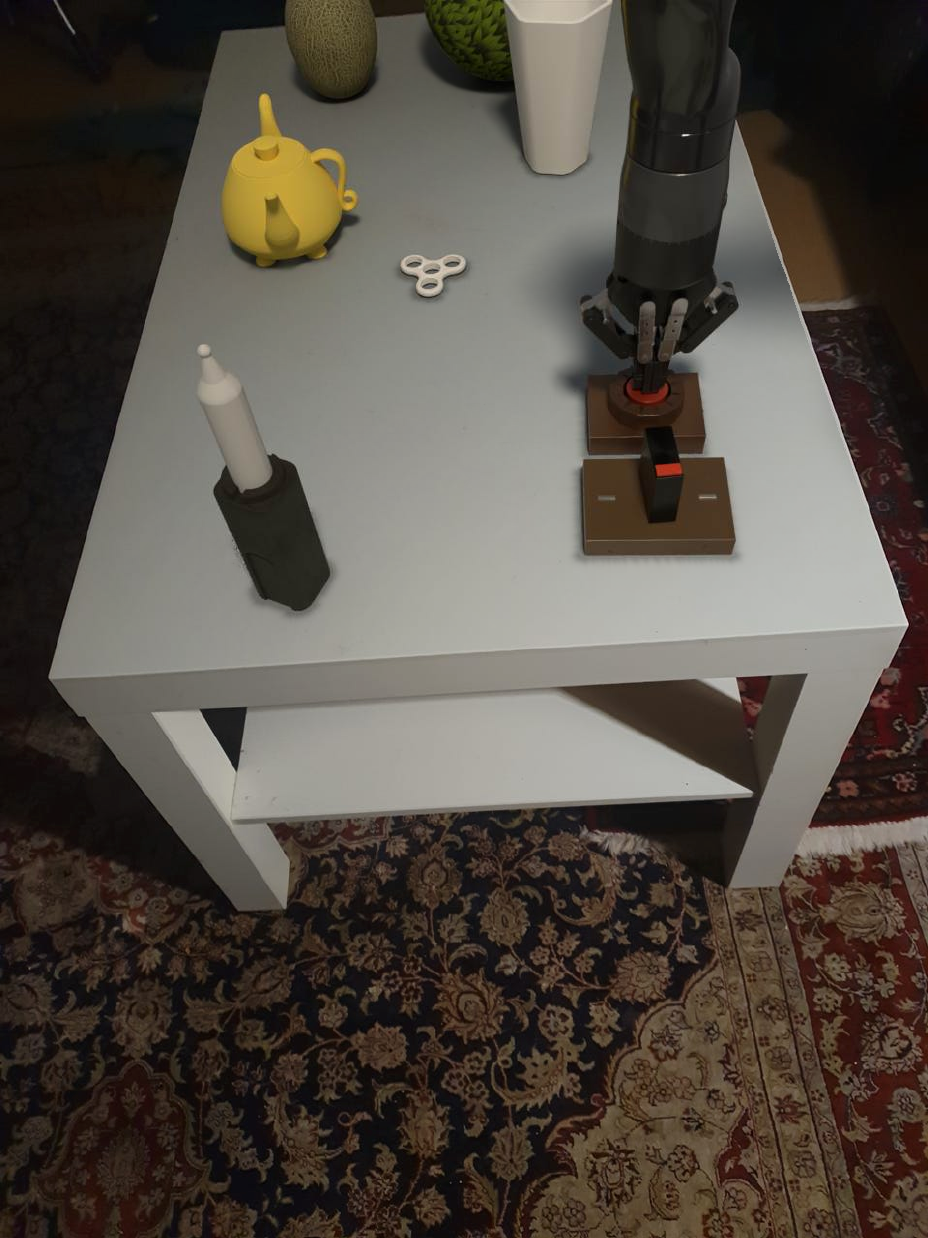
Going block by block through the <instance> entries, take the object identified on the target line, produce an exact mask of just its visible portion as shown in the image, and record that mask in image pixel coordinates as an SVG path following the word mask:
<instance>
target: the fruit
mask: <svg viewBox="0 0 928 1238" xmlns="http://www.w3.org/2000/svg"><path fill="white" fill-rule="evenodd" d="M284 29H285V36H286V42H287V45H288V49H289V53H290V54H291V57H292V58H293V61H294V64H295V66H296V67H297V69H298V71H299V72H300V74H301V75H302V77H303V78H304V80H305V81H306V82H307V83H308V85H310V86H311V87H312V88H313V89H314V90H315V91H316V92H318V93H319V94H321V95H323V96H324V97H327V98H330V99H347V98H349V97H352V96H355V95H356V94H358V93H360V92H361V91H362V90H363V89H364V88H365V86H366V85H367V84H368V82H369V80H370V78H371V76H372V73H373V71H374V68H375V64H376V59H377V53H378V31H377V21H376V16H375V13H374V10H373V7H372V4H371V1H370V0H286V1H285V6H284Z"/></svg>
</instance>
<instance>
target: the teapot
mask: <svg viewBox="0 0 928 1238" xmlns="http://www.w3.org/2000/svg"><path fill="white" fill-rule="evenodd" d="M258 110H259V119H260V120H259V121H260V136H258V137H257V138H255V139H253V141H249V143H247V144H245V145H243V146H242V147H240V148H239V150H237V151H236V152H235V154H234V155H233V156H232V159H231V161H230V162H229V167H228V169H227V172H226V176H225V178H224V183H223V186H222V192H221V193H222V194H221V214H222V215H221V216H222V222H223V227H224V229H225V232H226V234H227V236H228V238H230V241H232V243H234V244H235V245H236V246H238V247H240V249H242V250H243V251H246V252H247V253H249V254H251V255H253V256H256V260H255V263H256V265H257V266H259V267H264V268H265V267H270V266H272V265H274V264H275V263H276V262H277V260H287V259H288V260H289V259H293V258H298V257H302V256H305V255H306V257H308V258H309V259H312V260H313V259H316V260H317V259H320V258H322V257H324V256H326V255H327V253H328V250H327V248H326V247H325V245H324V244H325V243H327V242H328V240H329V239H330V238H331V237H332V235H333V234H334V233H335V231H336V229H337V228H338V227H339V224H340V222H341V220H342V215H343V211H344V212H351V211H353V210H355V209H356V207H357V206H358V205H359V196H358V194H357V193H356V192H355V191H354V190H353V189H346V186H347V175H348V173H347V170H348V169H347V164H346V161H345V159H344V157H343V156H342V154H341V153H339V152H338V151H336V150H334V149H332V148H325V147H323V148H318V149H316V150H313V152H312V151H310V150H309V149H308V148H307V147H306V146H304V145H303V144H302V143H301V142H300V141H298V140H296V139H294V138H290V137H286V136H283V135H282V133H281V131H280V129H279V127H278V124H277V121H276V118H275V115H274V111H273V106H272V101H271V98H270V96H269V95H268V94H267V93H262V94H261V95H260V97H259V100H258ZM324 160H325V161H326V160H328V161H331V162H334V163H336V165H337V167H338V182H337V185H336V183H335V181H334V180H333V177H332V176H331V174H330V172H329V171H328V170H327V168H326V167H325V166H324V164H323V163H322V162H321V161H324ZM346 198H350V200H346Z"/></svg>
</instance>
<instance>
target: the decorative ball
mask: <svg viewBox="0 0 928 1238" xmlns="http://www.w3.org/2000/svg"><path fill="white" fill-rule="evenodd" d="M422 5H423V11H424V14H425V18H426V21H427V24H428V26H429V29H430V32H431V33H432V36H433V38H434V39H435V41H436V43H437V44H438V46H439V47H440V49H441V50H442V51H443V53H444V54H445V55H446V56H447V58H449V59H450V60H451V62H453V63H454V64H455V65H457V67H459V68H461V69H462V70H464V72H466V73H469V74H471V75H473V76H475V77H477V78H480V79H484V80H486V81H487V80H488V81H494V82H508V81H514V75H513V67H512V60H511V53H510V45H509V38H508V30H507V23H506V15H505V8H504V0H422Z"/></svg>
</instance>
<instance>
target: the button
mask: <svg viewBox="0 0 928 1238" xmlns="http://www.w3.org/2000/svg"><path fill="white" fill-rule="evenodd" d="M667 393H668V386H667V383H666V384H665V385H664V386H659V392H657V393H646V394H641V390H640V388H636V387H635V385H634V381H633V378H632V379H630V381H629V382H628V384H627V387H626V397H627V398H628V400H629V401H630V402H632V403H635V404H638V405H640V406H656V405H658V404H661V403H663V402H665V401H666V399H667Z"/></svg>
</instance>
